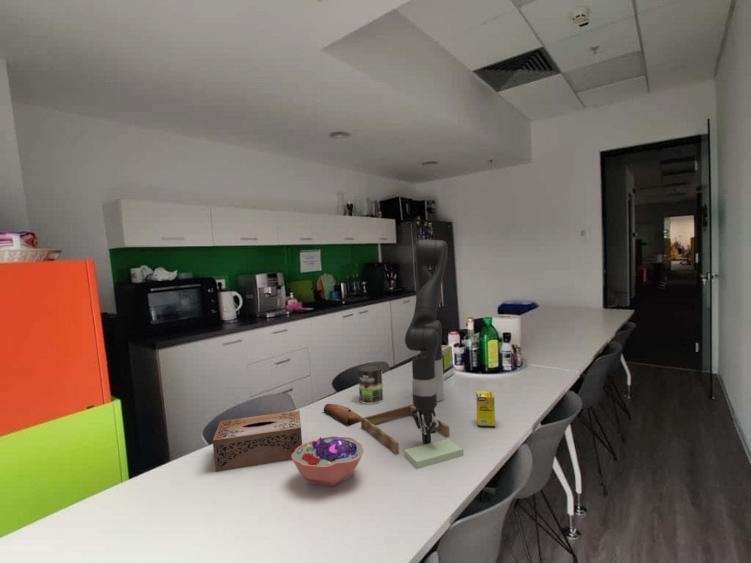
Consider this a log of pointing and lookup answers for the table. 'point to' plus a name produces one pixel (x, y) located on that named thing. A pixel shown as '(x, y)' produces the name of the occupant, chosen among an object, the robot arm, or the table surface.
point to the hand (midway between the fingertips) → (426, 444)
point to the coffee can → (370, 384)
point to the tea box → (447, 361)
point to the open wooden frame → (380, 418)
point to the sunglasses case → (342, 414)
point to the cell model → (328, 459)
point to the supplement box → (485, 409)
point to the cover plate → (433, 453)
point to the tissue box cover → (256, 440)
